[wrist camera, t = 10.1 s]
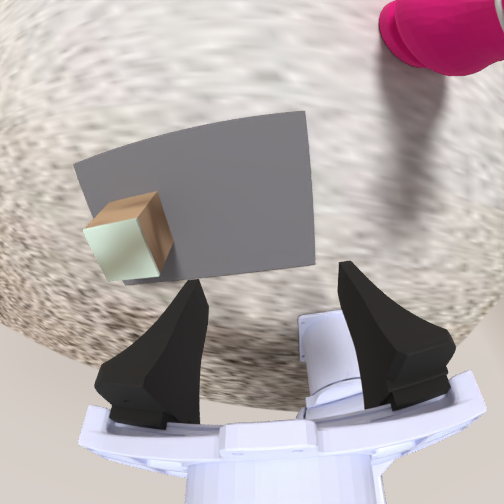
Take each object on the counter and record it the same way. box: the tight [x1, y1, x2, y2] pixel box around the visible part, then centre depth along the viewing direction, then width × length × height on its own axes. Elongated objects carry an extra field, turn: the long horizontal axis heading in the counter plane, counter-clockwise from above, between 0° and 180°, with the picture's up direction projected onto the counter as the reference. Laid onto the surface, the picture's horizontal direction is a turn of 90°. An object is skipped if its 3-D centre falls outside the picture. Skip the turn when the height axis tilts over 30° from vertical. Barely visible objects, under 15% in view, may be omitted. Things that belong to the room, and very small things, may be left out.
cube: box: [83, 191, 174, 281], centre depth 21 cm, size 5×5×5 cm
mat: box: [73, 111, 315, 285], centre depth 23 cm, size 14×20×1 cm
